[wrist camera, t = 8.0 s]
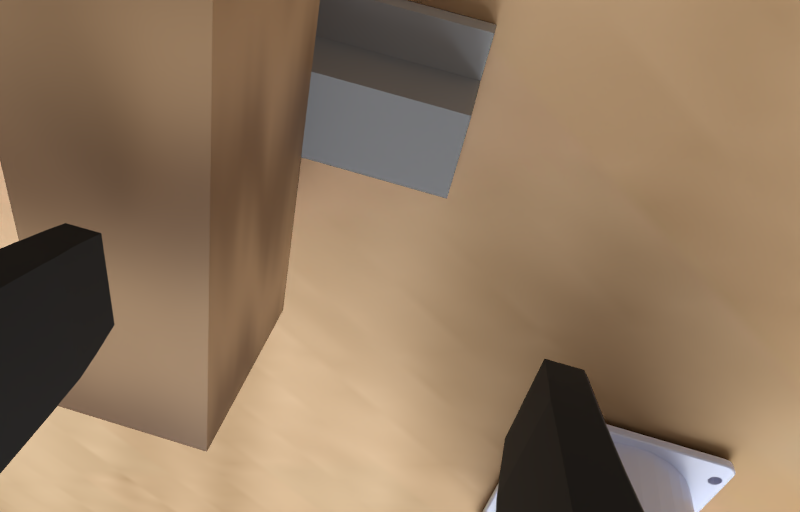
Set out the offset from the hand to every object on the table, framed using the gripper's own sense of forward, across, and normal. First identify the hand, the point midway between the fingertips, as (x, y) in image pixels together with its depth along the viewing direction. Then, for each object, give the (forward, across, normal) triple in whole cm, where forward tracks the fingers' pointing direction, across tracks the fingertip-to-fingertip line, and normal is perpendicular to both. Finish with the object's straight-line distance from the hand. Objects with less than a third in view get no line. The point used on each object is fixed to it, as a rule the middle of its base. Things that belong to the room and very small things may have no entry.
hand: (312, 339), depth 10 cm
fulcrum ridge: (+10, +4, 0) cm, 11 cm away
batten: (+7, +4, 0) cm, 8 cm away
